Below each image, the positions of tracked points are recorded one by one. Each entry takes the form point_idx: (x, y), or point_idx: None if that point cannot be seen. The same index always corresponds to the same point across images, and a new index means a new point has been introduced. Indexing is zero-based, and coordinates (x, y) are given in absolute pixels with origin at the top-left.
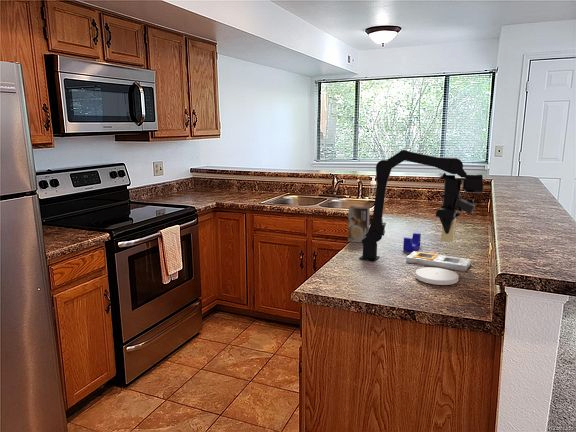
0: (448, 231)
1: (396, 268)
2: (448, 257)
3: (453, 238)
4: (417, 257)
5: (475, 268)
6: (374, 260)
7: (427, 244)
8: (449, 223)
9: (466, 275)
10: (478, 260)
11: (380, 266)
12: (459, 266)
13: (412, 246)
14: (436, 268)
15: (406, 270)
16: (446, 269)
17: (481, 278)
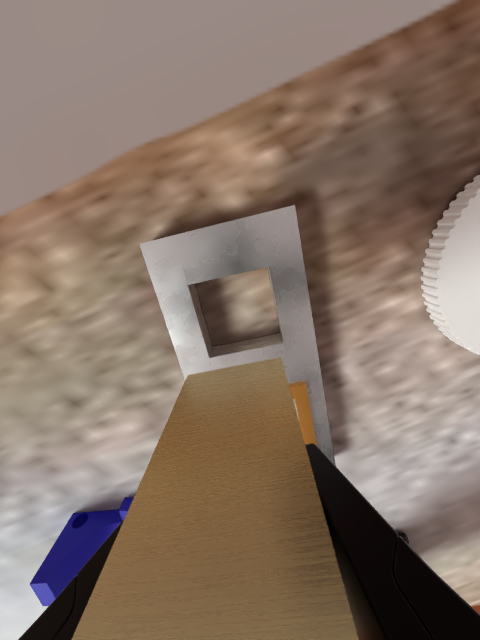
0: (331, 464)
1: (441, 446)
2: (201, 347)
3: (232, 378)
4: (316, 444)
5: (200, 189)
6: (403, 534)
7: (21, 506)
8: (458, 616)
9: (357, 172)
10: (47, 240)
11: (449, 493)
12: (298, 242)
13: None
14: (453, 304)
15: (445, 409)
16: (441, 256)
17: (360, 75)
